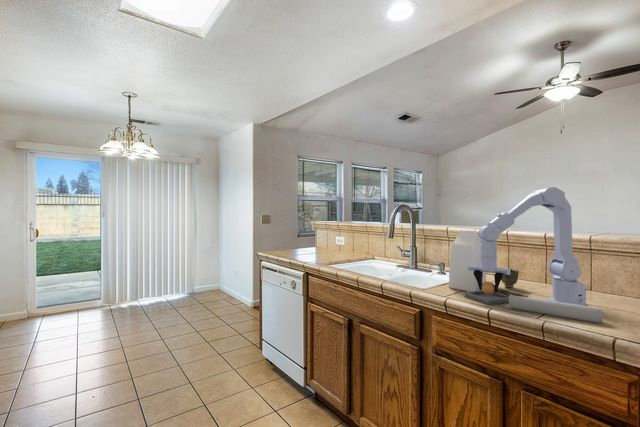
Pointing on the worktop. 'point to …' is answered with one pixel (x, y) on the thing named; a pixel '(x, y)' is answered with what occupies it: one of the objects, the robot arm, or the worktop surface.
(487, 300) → the tray
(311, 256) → the worktop surface
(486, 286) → the egg
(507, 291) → the fence
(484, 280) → the milk
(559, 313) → the tube
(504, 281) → the cup
